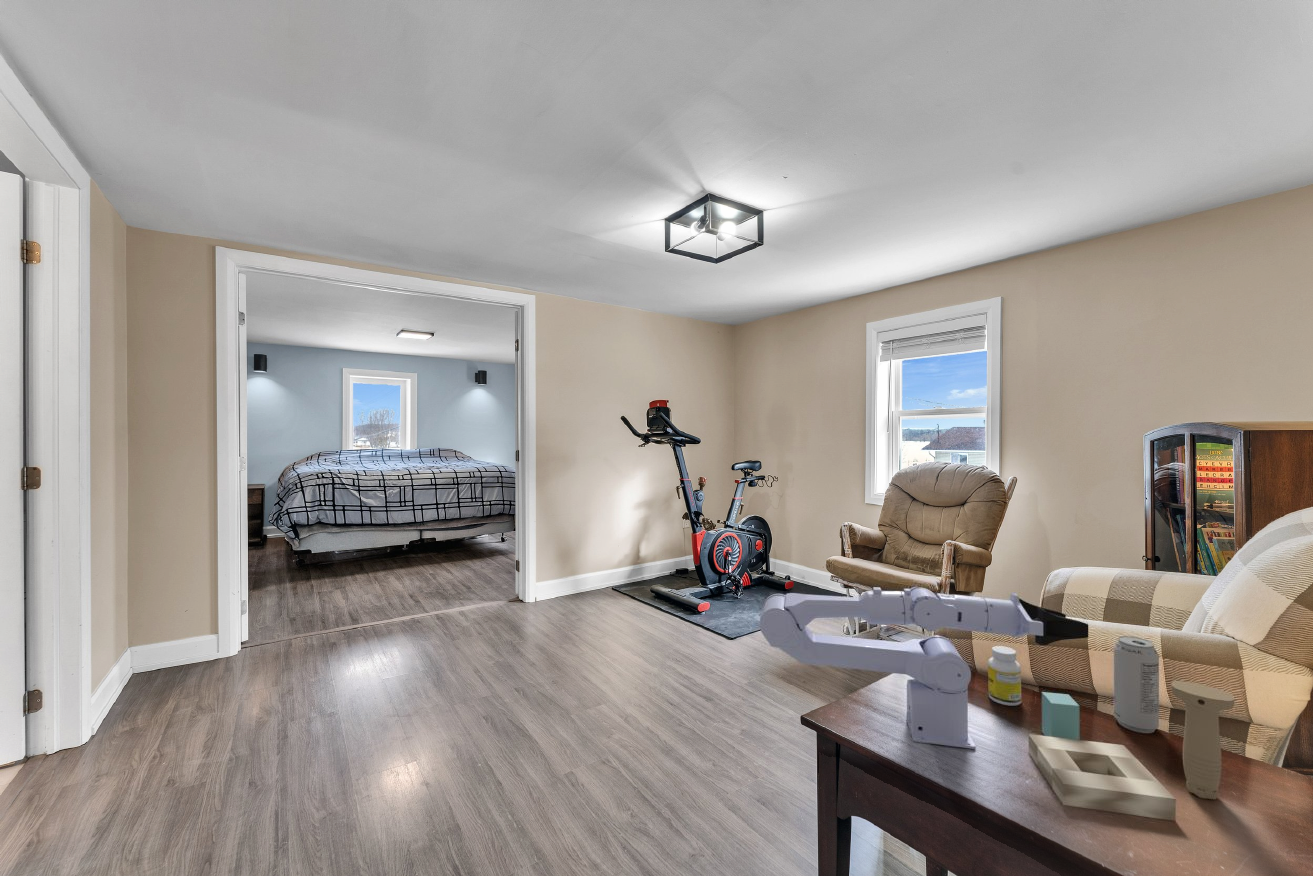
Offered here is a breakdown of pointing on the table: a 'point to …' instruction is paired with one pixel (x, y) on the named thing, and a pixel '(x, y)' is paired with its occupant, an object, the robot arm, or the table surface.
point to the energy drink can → (1136, 684)
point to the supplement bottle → (1004, 676)
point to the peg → (1060, 716)
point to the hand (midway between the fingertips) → (1075, 625)
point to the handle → (1202, 735)
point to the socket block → (1100, 777)
